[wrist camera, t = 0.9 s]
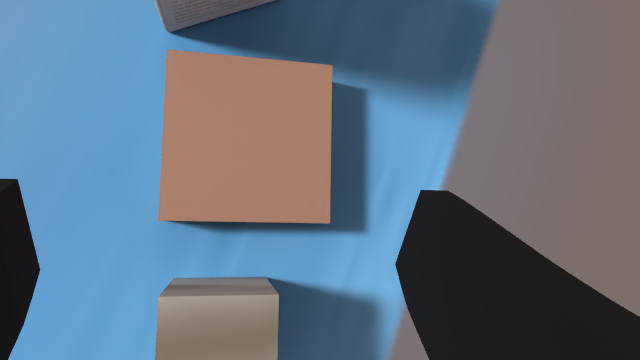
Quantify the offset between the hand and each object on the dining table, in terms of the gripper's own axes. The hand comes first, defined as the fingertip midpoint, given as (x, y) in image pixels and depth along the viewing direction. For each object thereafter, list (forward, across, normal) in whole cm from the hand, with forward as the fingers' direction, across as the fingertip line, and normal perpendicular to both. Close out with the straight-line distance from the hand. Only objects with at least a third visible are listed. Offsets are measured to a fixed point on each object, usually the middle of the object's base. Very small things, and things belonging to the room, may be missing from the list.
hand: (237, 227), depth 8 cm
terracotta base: (+12, -1, +5) cm, 13 cm away
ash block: (+7, 0, +11) cm, 13 cm away
